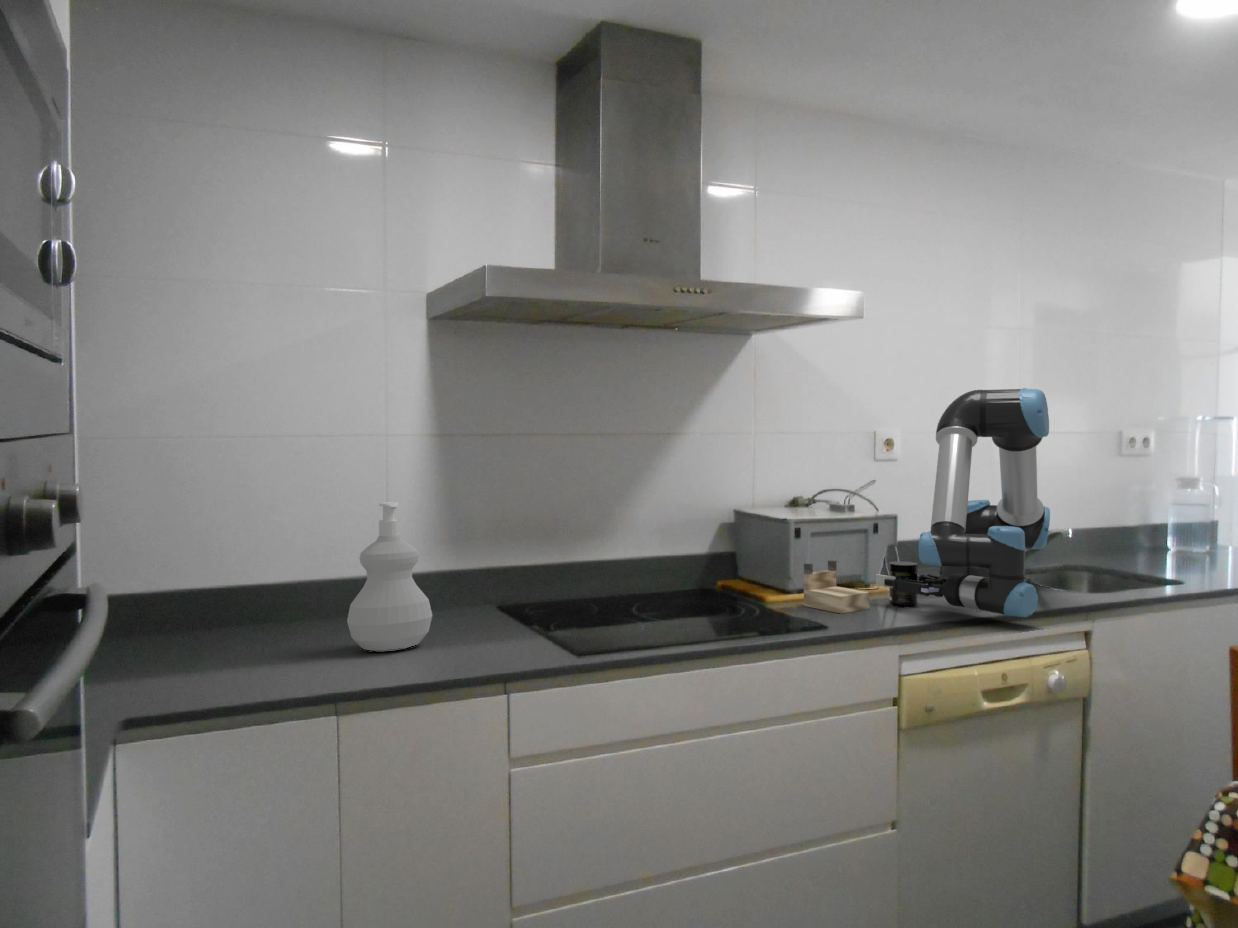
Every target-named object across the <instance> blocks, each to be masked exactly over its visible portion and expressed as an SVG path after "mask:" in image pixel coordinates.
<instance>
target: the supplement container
mask: <svg viewBox="0 0 1238 928" xmlns="http://www.w3.org/2000/svg"><path fill="white" fill-rule="evenodd" d="M888 565H889V566H888V570H889V574H888V576H892V577H896V576H899V579H907V580H917V574H918V569H919V568H918V563H917V562H912V561H900V560H899V561H898V560H896V561H889V562H888ZM888 590H889V591H888V601H889V604H890V606H892V605H893V606H892V607H895V606H898V607H897V608H904V607H909V608H914V607H916V606H917V605H918V594H914V593H907V592H900V591H893V588H889V587H888Z"/></svg>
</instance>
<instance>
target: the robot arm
mask: <svg viewBox="0 0 1238 928" xmlns="http://www.w3.org/2000/svg"><path fill="white" fill-rule="evenodd" d="M1048 407H1049V406H1048V402H1047V397H1046V395H1045V393H1044V392H1043V390H1041V389H1038V388H1027V387H1024V388H1023V387H1022V388H1014V389H1013V388H1012V389H1010V388H1009V389H1008V388H1007V389H1006V388H1005V389H975V390H971V391H970V390H969V391H968V392H965V393H963V394H961V395H959V396H958V397H956V398H955V399H954V400H953V401H952V402H951V403H950V404H949V405H947V407H946V409H945V410H944V411H943V413H942V414H941V417H940V419H939V420H938V423H937V426H936V431H935V432H936V433H935V441H936V443H937V444H938V445H939V446H938V455H937V466H936V473H935V474H936V475H935V483H934V493H933V494H934V495H933V504H932V515H931V521H930V522H931V523H930V531H926V532H925V531H924V532H921V533H920V535H919V539H918V557H919V560H920V563H922V564H924V565H928V566H933V567H934V566H935V567H939V571H938V574H937V575H934V574H926V575H925V574H920V575H919V574H918V573H917V580H907V579H899V576H896V577H892V576H889V575H886V574H885V575H884V574H876V585H877V586H878V587H883V588H888V589H889V588H893V591H900V592H907V593H914V594H917V595H919V596H920V595H921V596H924V597H928V596H929V597H930V596H934V597H937V598H939V597H940V598H941V597H944V598H945V601H946V602H947V603H948V604H949V605H951V606H955V607H960V608H968V609H972V610H976V612H977V613H981V611H983V612H990V613H994V614H999V615H1004V616H1006V617H1010V616H1011V617H1018V618H1028V617H1030V616H1032V615H1033V614H1034V612H1035V610H1036V609H1037V606H1038V602H1039V597H1038V596H1039V595H1038V594H1037V589H1036V587H1035V586H1034V585H1033V584H1032V583H1031V584H1030V583H1028V582H1026V577H1025V576H1026V550H1028V551H1031V550H1041V549H1043V548H1045V547H1046V545H1047V543H1048V536H1049V528H1050V520H1051V509H1050V508H1049V507H1048V506H1044V504H1043V502H1042V500H1041V499H1039V498H1038V465H1037V464H1038V463H1037V446H1039V444H1040V443H1041V442H1042V440H1043V438H1044V437H1048V435H1049V433H1050V418H1049V408H1048ZM978 438H991V440H992V442H993V443H994V445H995V446H996V447H997V448H998V454H999V469H1000V471H999V472H1000V482H1001V485H1000V486H1001V487H1000V488H1001V499H1000V500H999V501H998V503H997V504H995V505H993V504H991V502H990V500H989V499H974V500H969V492H970V479H971V467H972V466H971V465H972V456H973V455H972V454H973V448H974V447H975V446H976V445H977V443H978Z"/></svg>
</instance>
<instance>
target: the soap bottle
mask: <svg viewBox="0 0 1238 928" xmlns="http://www.w3.org/2000/svg"><path fill="white" fill-rule="evenodd" d="M378 506H379V507H382V519H379V520H378V536H377V538H376V540H375V541H373V542H372V543H371V544H369V545H368V546H367V547H365V548H364V550H362V551H361V552H360V553H359V554H360V555H359V562H360V564H361V566H362V567H363V568H364V570H365V571H366V581H365V583H364V585H363V587H362V588H361V589H360V591H359V593H357V595H356V597H355V598H354V599H353V600H352V602H351V603H350V604H349V605H350V606H349V611H348V614H347V619H346V622H347V625H348V629H349V634H350V636H351V639H352V640H353V641H354V642H355V643H356V644H357V645H358V646H359V647H360V648H361V649H362V648H363V649H367V650H388V649H398V648H407V647H411V646H414V645H417V644H418V645H419V644H420V642H422V640H423V639H424V638H425V637H426V635H427V634H428V633H429V631H430V627H431V623H432V619H433V612H432V609H431V607H432V606H431V604H430V599H429V597H428V596H426V594H425V593H424V592H423V590H422V589H420V587H419V586H418V585H417V583H416V582H415V580H414V578H413V569H414V568H415V566H416V564H417V563H418V561H419V556H420V555H419V551H418V549H416V548H415V547H414V546H413V545H411V544H410V543H408V542H406V541H405V540H403V538H402V537H401V535H400V525H399V524H400V520H399V519H395V518H396V517H395V516H396V515H395V513H396V512H395V511H396V510H395V509H397V507H398V506H399V503H398V502H396V501H381V502H379V504H378ZM418 645H417V646H418ZM414 647H415V646H414ZM411 648H412V647H411Z"/></svg>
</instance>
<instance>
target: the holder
mask: <svg viewBox="0 0 1238 928" xmlns="http://www.w3.org/2000/svg"><path fill="white" fill-rule="evenodd" d="M813 566H814V565H813V563H810V562H807V563H803V606H804V607H808V608H813V609H818V610H823V611H827V612H833V613H837V614H845V613H847V614H848V613H853V612H857V611H864V610H869V609H870V593H871V592H869V591H866V590H865V591H864V590H861V589H855V588H848V587H843V586H837V560H833V559H831V560H827V569H826V570H819V571H813V568H814V567H813Z"/></svg>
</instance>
